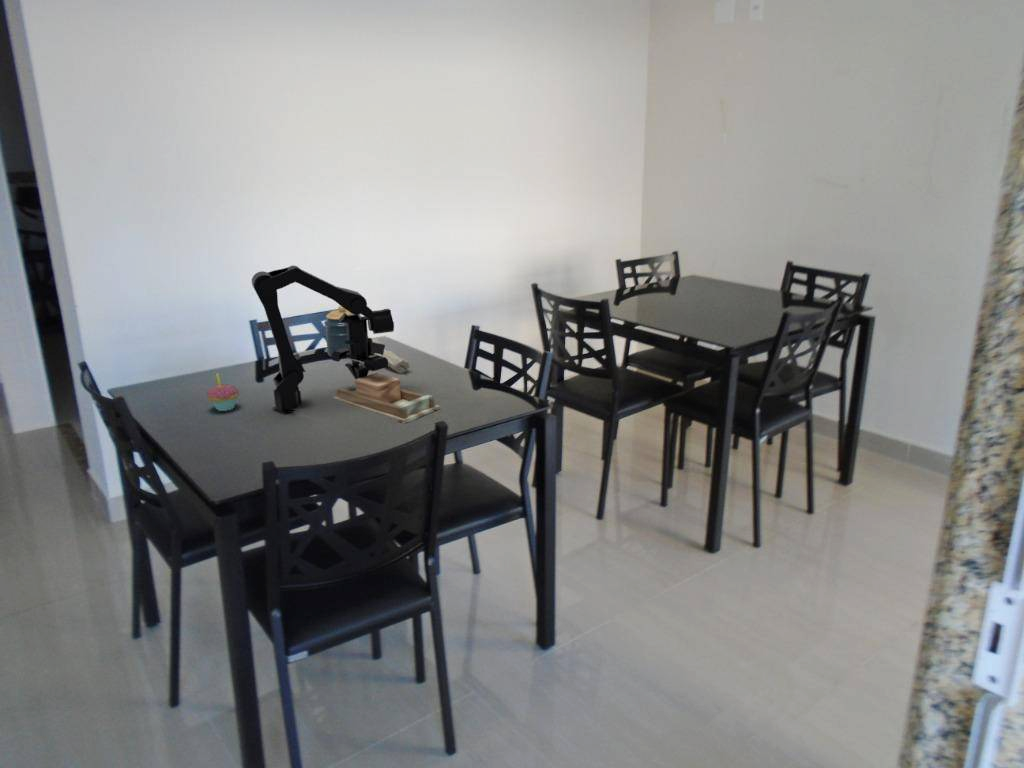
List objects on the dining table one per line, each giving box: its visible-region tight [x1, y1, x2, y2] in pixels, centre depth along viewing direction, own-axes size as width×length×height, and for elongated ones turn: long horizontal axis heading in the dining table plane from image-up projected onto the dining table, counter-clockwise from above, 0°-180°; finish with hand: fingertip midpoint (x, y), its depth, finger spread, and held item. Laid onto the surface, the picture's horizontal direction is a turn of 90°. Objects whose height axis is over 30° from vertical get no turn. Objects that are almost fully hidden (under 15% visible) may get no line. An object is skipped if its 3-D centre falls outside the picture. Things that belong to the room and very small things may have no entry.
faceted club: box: [369, 337, 410, 374], centre depth 248 cm, size 9×8×25 cm
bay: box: [333, 387, 441, 425], centre depth 214 cm, size 14×30×4 cm, turn 51°
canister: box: [323, 305, 360, 358], centre depth 262 cm, size 13×13×18 cm
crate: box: [354, 372, 401, 403], centre depth 215 cm, size 8×10×6 cm
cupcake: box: [207, 372, 240, 412], centre depth 211 cm, size 9×8×12 cm
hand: (362, 386), depth 219 cm, fingers closed
